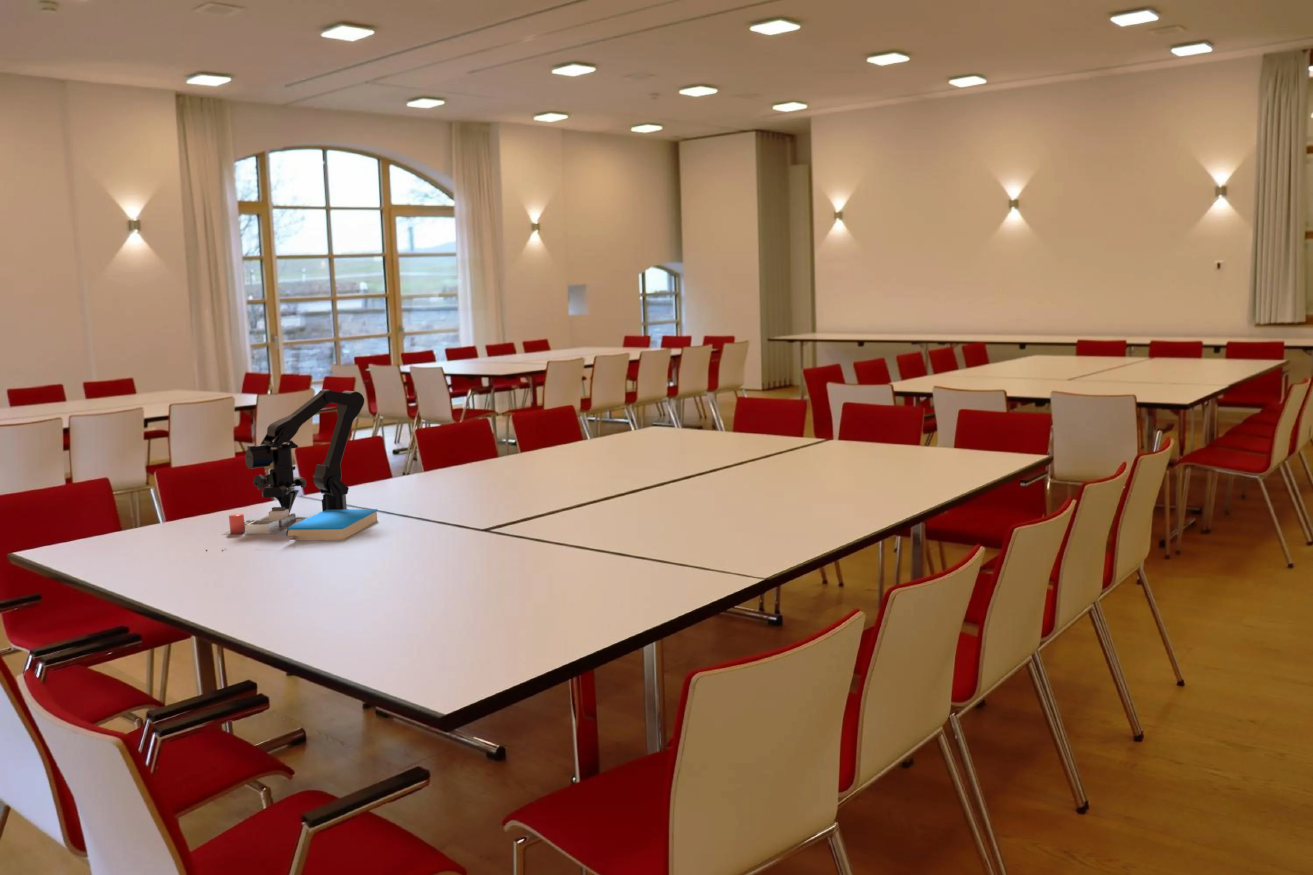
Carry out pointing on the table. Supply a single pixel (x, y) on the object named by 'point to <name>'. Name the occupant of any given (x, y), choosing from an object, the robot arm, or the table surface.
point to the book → (332, 524)
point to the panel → (267, 525)
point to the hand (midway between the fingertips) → (286, 515)
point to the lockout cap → (236, 523)
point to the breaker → (278, 513)
